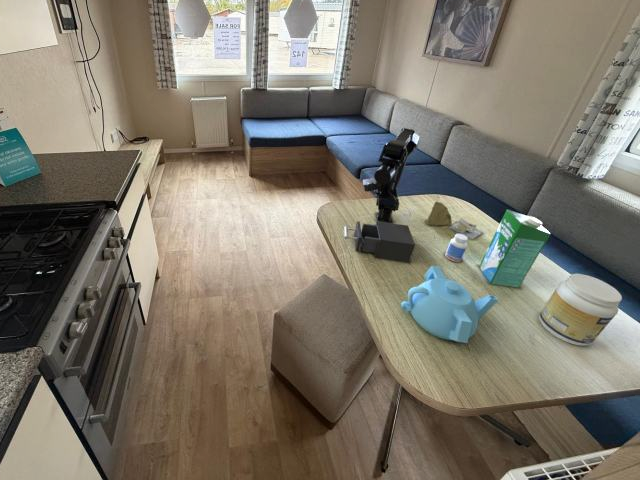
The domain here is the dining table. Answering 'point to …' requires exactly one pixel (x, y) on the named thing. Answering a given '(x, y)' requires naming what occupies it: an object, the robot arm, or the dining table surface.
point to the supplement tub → (580, 309)
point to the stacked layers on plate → (466, 227)
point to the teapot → (446, 307)
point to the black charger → (394, 242)
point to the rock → (439, 215)
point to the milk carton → (513, 249)
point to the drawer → (364, 237)
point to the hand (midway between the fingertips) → (379, 209)
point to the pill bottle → (457, 247)
